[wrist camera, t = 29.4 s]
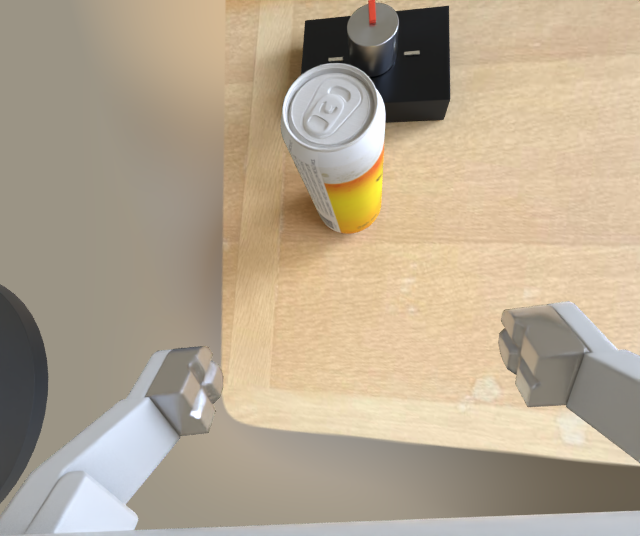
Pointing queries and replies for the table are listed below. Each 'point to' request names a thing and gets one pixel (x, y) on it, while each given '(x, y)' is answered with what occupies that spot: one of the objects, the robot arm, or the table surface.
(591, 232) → the table surface
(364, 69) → the knob
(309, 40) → the panel
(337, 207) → the beer can
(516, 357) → the robot arm
